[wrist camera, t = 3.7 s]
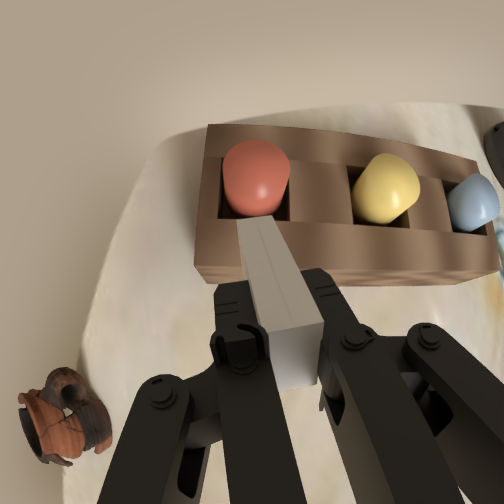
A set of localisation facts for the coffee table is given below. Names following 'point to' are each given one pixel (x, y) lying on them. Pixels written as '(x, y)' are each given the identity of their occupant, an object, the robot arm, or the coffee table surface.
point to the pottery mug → (64, 419)
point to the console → (344, 213)
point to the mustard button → (384, 190)
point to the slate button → (472, 204)
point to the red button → (255, 178)
